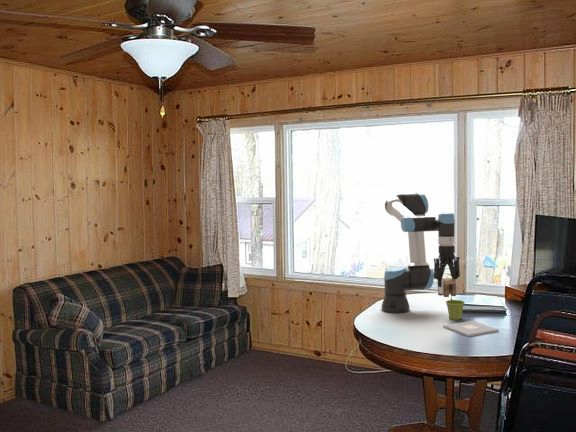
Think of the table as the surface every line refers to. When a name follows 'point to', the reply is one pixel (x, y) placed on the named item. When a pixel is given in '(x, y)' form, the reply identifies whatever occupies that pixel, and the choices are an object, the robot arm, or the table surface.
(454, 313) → the plant pot
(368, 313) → the table surface
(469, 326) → the mat
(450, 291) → the notched wooden block
